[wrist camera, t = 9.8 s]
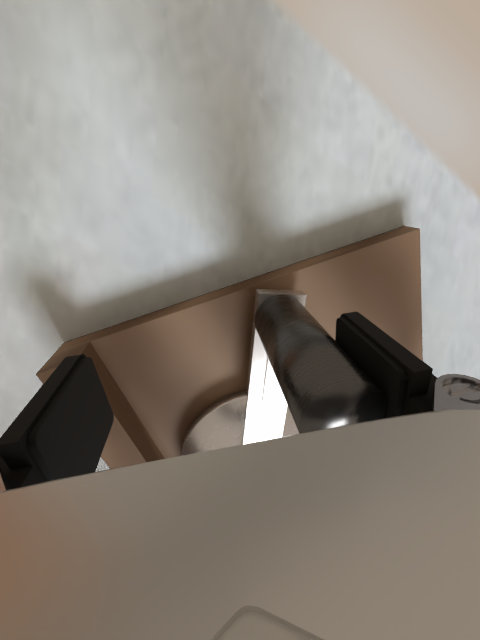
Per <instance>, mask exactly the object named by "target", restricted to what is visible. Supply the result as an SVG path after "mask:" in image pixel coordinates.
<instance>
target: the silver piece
mask: <svg viewBox="0 0 480 640" xmlns="http://www.w3.org/2000/svg"><path fill="white" fill-rule="evenodd" d="M306 296H307V295H306V294H305V293H304V292H303V291H301V290H266V289H256V298H255V308H254V318H253V328H252V338H251V348H250V358H249V368H248V378H247V388H246V391H243V392H239V393H236V394H233V395H231V396H228V397H226V398H223V399H222V400H220V401H218V402H216V403H214V404H213V405H211V406H210V407H209V408H207V409H206V410H205V411H203V412H202V413H201V414H200V415H199V416H198V417H197V418H196V419H195V421H194V422H193V423H192V425H191V426H190V428H189V429H188V431H187V433H186V435H185V438H184V441H183V445H182V456H183V455H189V454H194V453H199V452H205V451H210V450H215V449H221V448H226V447H231V446H237V445H242V444H248V443H253V442H258V441H264V440H269V439H274V438H280V437H285V436H290V435H296V434H301V433H306V432H312V431H317V430H323V429H329V428H334V427H340V426H345V425H351V424H356V423H362V422H367V421H373V420H378V419H384V418H386V416H387V409H388V403H387V399H386V397H385V395H384V394H383V393H382V392H381V390H380V389H379V388H378V387H377V386H376V385H375V384H374V383H373V382H372V381H371V379H370V378H369V377H368V376H367V375H366V374H365V373H364V372H363V371H362V370H361V368H360V367H359V366H358V365H357V364H356V363H355V362H354V361H353V360H352V359H351V357H350V356H349V355H348V354H347V353H346V352H345V351H344V350H343V349H342V348H341V347H340V345H339V344H338V343H337V342H336V341H335V340H334V339H333V338H332V337H331V336H330V334H329V333H328V332H327V331H326V330H325V329H324V328H323V327H322V326H321V325H320V323H319V322H318V321H317V320H316V319H315V318H314V317H313V316H312V315H311V314H310V313H309V311H308V310H307V309H306V308H305V302H306Z"/></svg>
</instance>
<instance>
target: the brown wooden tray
mask: <svg viewBox="0 0 480 640" xmlns="http://www.w3.org/2000/svg"><path fill="white" fill-rule="evenodd" d="M256 289H266V290H301V291H303V292H304V293H305V294H306V295H307V296H306V302H305V308H306V309H307V310H308V311H309V313H310V314H311V315H312V316H313V317H314V318H315V319H316V320H317V321H318V322H319V323H320V325H321V326H322V327H323V328H324V329H325V330H326V331H327V332H328V333H329V334H330V336H331V337H332V338H333V339H334V340H335V336H336V320H337V318H340V316H341V314H343V313H350V312H356V311H357V312H359V313H360V314H361V315H363V316H364V317H365V318H367V319H368V320H369V321H371V322H372V323H373V324H375V325H376V326H377V327H378V328H380V329H381V330H382V331H384V332H385V333H386V334H388V335H389V336H390V337H392V338H393V339H394V340H396V341H397V342H398V343H399V344H401V345H402V346H403V347H405V348H406V349H407V350H409V351H410V352H411V353H413V354H414V355H415V356H416V357H418V358H419V359H420V360H422V361H423V358H422V312H421V266H420V229H418V228H413V227H407V226H403V227H400V228H397V229H394V230H392V231H389V232H386V233H383V234H380V235H377V236H374V237H371V238H368V239H365V240H362V241H359V242H357V243H354V244H351V245H348V246H345V247H342V248H339V249H336V250H333V251H330V252H327V253H325V254H322V255H319V256H316V257H313V258H310V259H307V260H304V261H301V262H298V263H295V264H292V265H290V266H287V267H284V268H281V269H278V270H275V271H272V272H269V273H266V274H263V275H260V276H257V277H255V278H252V279H249V280H246V281H243V282H240V283H237V284H234V285H231V286H228V287H225V288H222V289H220V290H217V291H214V292H211V293H208V294H205V295H202V296H199V297H196V298H193V299H190V300H188V301H185V302H182V303H179V304H176V305H173V306H170V307H167V308H164V309H161V310H158V311H155V312H153V313H150V314H147V315H144V316H141V317H138V318H135V319H132V320H129V321H126V322H123V323H120V324H118V325H115V326H112V327H109V328H106V329H103V330H100V331H97V332H94V333H91V334H88V335H85V336H83V337H80V338H77V339H74V340H71V341H68V342H65V343H63V344H62V345H61V347H60V348H59V349H58V350H57V351H56V352H55V353H54V354H53V356H52V357H51V358H50V359H49V360H48V361H47V362H46V363H45V365H44V366H43V367H42V368H41V369H40V370H39V371H38V372H37V374H36V375H37V376H38V378H39V379H40V380H41V382H42V383H43V384H44V383H45V382H46V380H47V379H48V378H49V377H50V375H51V374H52V373H53V372H54V370H55V369H56V368H57V367H58V365H59V364H60V363H61V362H62V360H63V359H64V358H65V357H67V356H74V355H80V354H84V355H86V357H90V358H91V359H92V360H93V363H94V365H95V368H96V370H97V373H98V376H99V378H100V381H101V383H102V386H103V388H104V391H105V393H106V396H107V399H108V401H109V404H110V406H111V409H112V411H113V415H114V420H113V424H112V427H111V430H110V432H109V435H108V438H107V441H106V443H105V446H104V449H103V451H102V454H101V458H102V459H103V460H104V461H105V463H106V464H107V465H108V466H109V468H110V469H114V468H119V467H125V466H130V465H135V464H140V463H146V462H151V461H156V460H162V459H167V458H172V457H178V456H182V445H183V441H184V438H185V435H186V433H187V431H188V429H189V428H190V426H191V425H192V423H193V422H194V421H195V419H196V418H197V417H198V416H199V415H200V414H201V413H202V412H203V411H205V410H206V409H207V408H209V407H210V406H211V405H213V404H214V403H216V402H218V401H220V400H222V399H223V398H226V397H228V396H231V395H233V394H236V393H239V392H243V391H246V388H247V378H248V368H249V358H250V348H251V338H252V328H253V318H254V308H255V298H256Z"/></svg>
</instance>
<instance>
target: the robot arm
mask: <svg viewBox="0 0 480 640" xmlns="http://www.w3.org/2000/svg"><path fill="white" fill-rule="evenodd" d="M335 341H336V342H337V343H338V344H339V345H340V347H341V348H342V349H343V350H344V351H345V352H346V353H347V354H348V355H349V356H350V357H351V359H352V360H353V361H354V362H355V363H356V364H357V365H358V366H359V367H360V368H361V370H362V371H363V372H364V373H365V374H366V375H367V376H368V377H369V378H370V379H371V381H372V382H373V383H374V384H375V385H376V386H377V387H378V388H379V389H380V390H381V392H382V393H383V394H384V395H385V397H386V399H387V403H388V409H387V416H386V418H384V419H378V420H373V421H367V422H362V423H356V424H351V425H345V426H340V427H334V428H329V429H323V430H317V431H312V432H306V433H301V434H296V435H290V436H285V437H280V438H274V439H269V440H264V441H258V442H253V443H248V444H242V445H237V446H231V447H226V448H221V449H215V450H210V451H205V452H199V453H194V454H189V455H183V456H178V457H172V458H167V459H162V460H156V461H151V462H146V463H140V464H135V465H130V466H125V467H119V468H114V469H109V470H104V471H99V472H95V470H96V468H97V465H98V462H99V459H100V457H101V454H102V451H103V449H104V446H105V443H106V441H107V438H108V435H109V432H110V430H111V427H112V424H113V420H114V415H113V411H112V409H111V406H110V404H109V401H108V399H107V396H106V393H105V391H104V388H103V386H102V383H101V381H100V378H99V376H98V373H97V370H96V368H95V365H94V363H93V360H92V359H91V358H90V357H86V355H84V354H80V355H74V356H67V357H65V358H64V359H63V360H62V362H61V363H60V364H59V365H58V367H57V368H56V369H55V370H54V372H53V373H52V374H51V375H50V377H49V378H48V379H47V380H46V382H45V383H44V384H43V385H42V387H41V388H40V389H39V390H38V392H37V393H36V394H35V395H34V397H33V398H32V399H31V400H30V402H29V403H28V404H27V405H26V407H25V408H24V409H23V410H22V412H21V413H20V414H19V415H18V417H17V418H16V419H15V420H14V422H13V423H12V424H11V425H10V427H9V428H8V429H7V430H6V432H5V433H4V434H3V435H2V437H1V438H0V640H480V380H478V379H476V378H473V377H469V376H466V375H459V374H447V375H443V376H440V377H439V378H437V377H435V376H434V375H433V374H432V370H433V369H432V368H431V367H430V366H428V365H427V364H426V363H424V362H423V361H422V360H420V359H419V358H418V357H416V356H415V355H414V354H413V353H411V352H410V351H409V350H407V349H406V348H405V347H403V346H402V345H401V344H399V343H398V342H397V341H396V340H394V339H393V338H392V337H390V336H389V335H388V334H386V333H385V332H384V331H382V330H381V329H380V328H378V327H377V326H376V325H375V324H373V323H372V322H371V321H369V320H368V319H367V318H365V317H364V316H363V315H361V314H360V313H359V312H357V311H356V312H350V313H343V314H341V316H340V318H337V320H336V336H335Z"/></svg>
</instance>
